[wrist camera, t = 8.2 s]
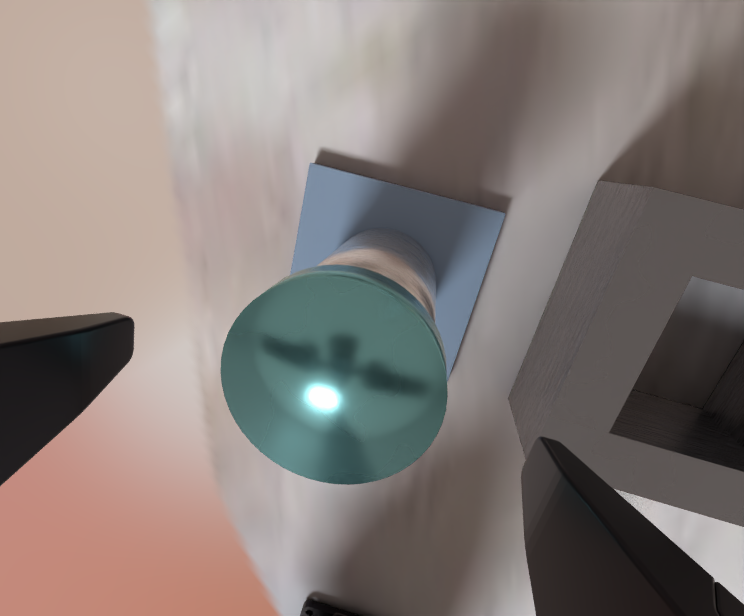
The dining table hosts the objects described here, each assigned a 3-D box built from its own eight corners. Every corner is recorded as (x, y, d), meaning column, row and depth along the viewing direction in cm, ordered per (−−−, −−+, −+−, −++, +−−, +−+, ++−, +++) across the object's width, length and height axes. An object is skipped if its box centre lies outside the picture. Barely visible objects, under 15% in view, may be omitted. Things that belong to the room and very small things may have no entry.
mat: (445, 380, 20) (445, 386, 19) (283, 334, 20) (279, 339, 20) (503, 212, 17) (505, 213, 16) (314, 162, 18) (309, 163, 17)
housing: (725, 461, 19) (807, 545, 15) (508, 398, 20) (526, 462, 15) (868, 248, 16) (1027, 280, 11) (598, 180, 16) (654, 186, 12)
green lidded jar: (423, 352, 19) (411, 510, 10) (312, 320, 19) (209, 447, 11) (459, 239, 17) (480, 317, 8) (336, 206, 17) (235, 248, 9)
